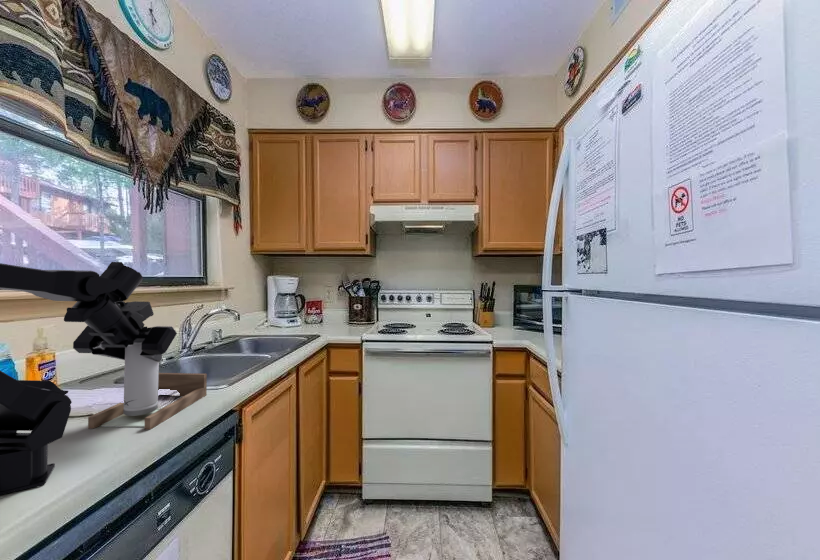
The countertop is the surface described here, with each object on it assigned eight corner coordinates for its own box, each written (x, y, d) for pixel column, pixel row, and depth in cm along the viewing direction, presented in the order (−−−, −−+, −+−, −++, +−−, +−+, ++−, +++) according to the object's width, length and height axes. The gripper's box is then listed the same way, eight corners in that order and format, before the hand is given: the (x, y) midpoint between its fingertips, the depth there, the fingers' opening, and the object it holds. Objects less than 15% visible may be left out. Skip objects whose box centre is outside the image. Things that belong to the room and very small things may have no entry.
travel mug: (121, 419, 74) (124, 328, 74) (124, 409, 79) (126, 324, 80) (157, 413, 78) (159, 326, 78) (157, 404, 83) (159, 322, 83)
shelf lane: (150, 429, 73) (150, 402, 73) (88, 428, 73) (88, 400, 73) (206, 395, 94) (206, 373, 93) (158, 394, 93) (158, 372, 93)
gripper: (172, 290, 75) (201, 332, 86) (86, 288, 75) (126, 331, 86) (143, 331, 67) (179, 372, 78) (48, 329, 67) (97, 370, 78)
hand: (146, 359), depth 80 cm, fingers closed on travel mug, 6 cm apart
